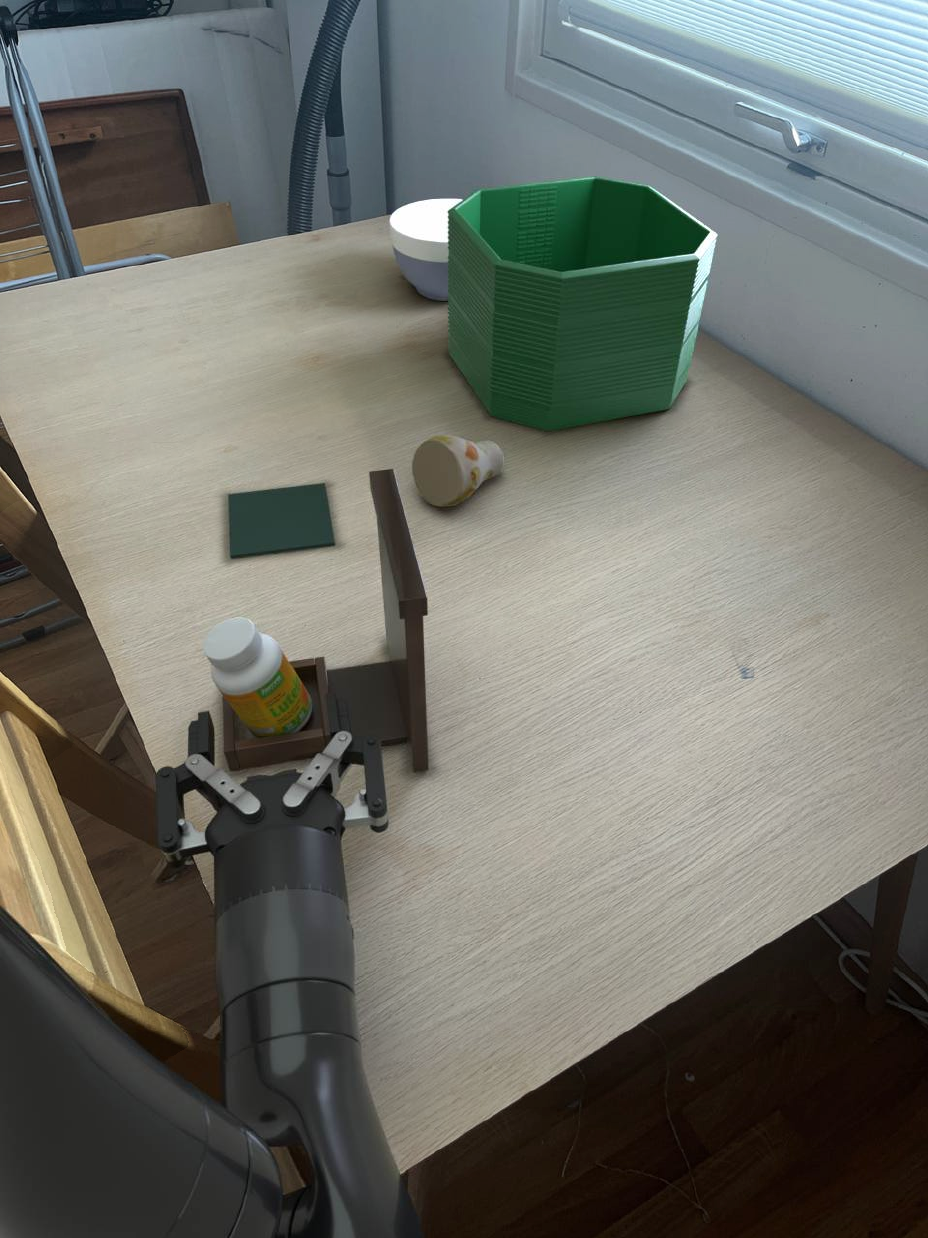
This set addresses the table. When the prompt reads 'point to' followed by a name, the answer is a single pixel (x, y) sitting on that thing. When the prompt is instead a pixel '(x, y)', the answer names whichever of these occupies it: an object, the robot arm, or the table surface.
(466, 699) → the table surface
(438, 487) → the fruit print bud vase
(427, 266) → the bowl
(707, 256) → the planter
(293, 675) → the supplement bottle
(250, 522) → the rubber mat
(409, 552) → the stand
